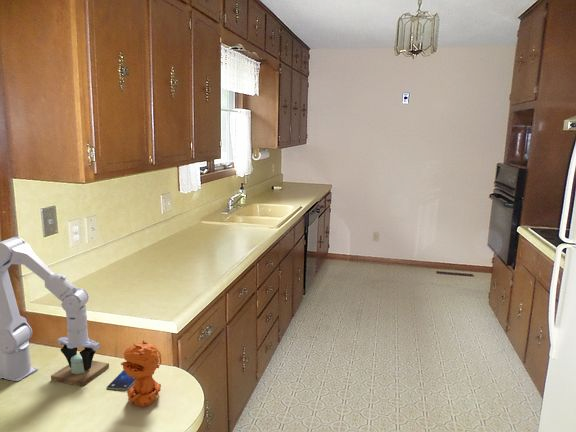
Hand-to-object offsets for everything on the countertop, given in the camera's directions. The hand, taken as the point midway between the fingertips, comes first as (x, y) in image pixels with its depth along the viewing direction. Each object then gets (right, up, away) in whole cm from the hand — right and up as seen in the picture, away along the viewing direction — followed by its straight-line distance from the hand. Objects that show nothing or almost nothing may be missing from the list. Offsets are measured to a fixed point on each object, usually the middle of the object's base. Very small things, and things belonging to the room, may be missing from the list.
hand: (80, 367), depth 142 cm
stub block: (0, -2, 0) cm, 2 cm away
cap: (0, -1, 0) cm, 1 cm away
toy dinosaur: (+25, -5, -14) cm, 29 cm away
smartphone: (+16, -3, -2) cm, 16 cm away
